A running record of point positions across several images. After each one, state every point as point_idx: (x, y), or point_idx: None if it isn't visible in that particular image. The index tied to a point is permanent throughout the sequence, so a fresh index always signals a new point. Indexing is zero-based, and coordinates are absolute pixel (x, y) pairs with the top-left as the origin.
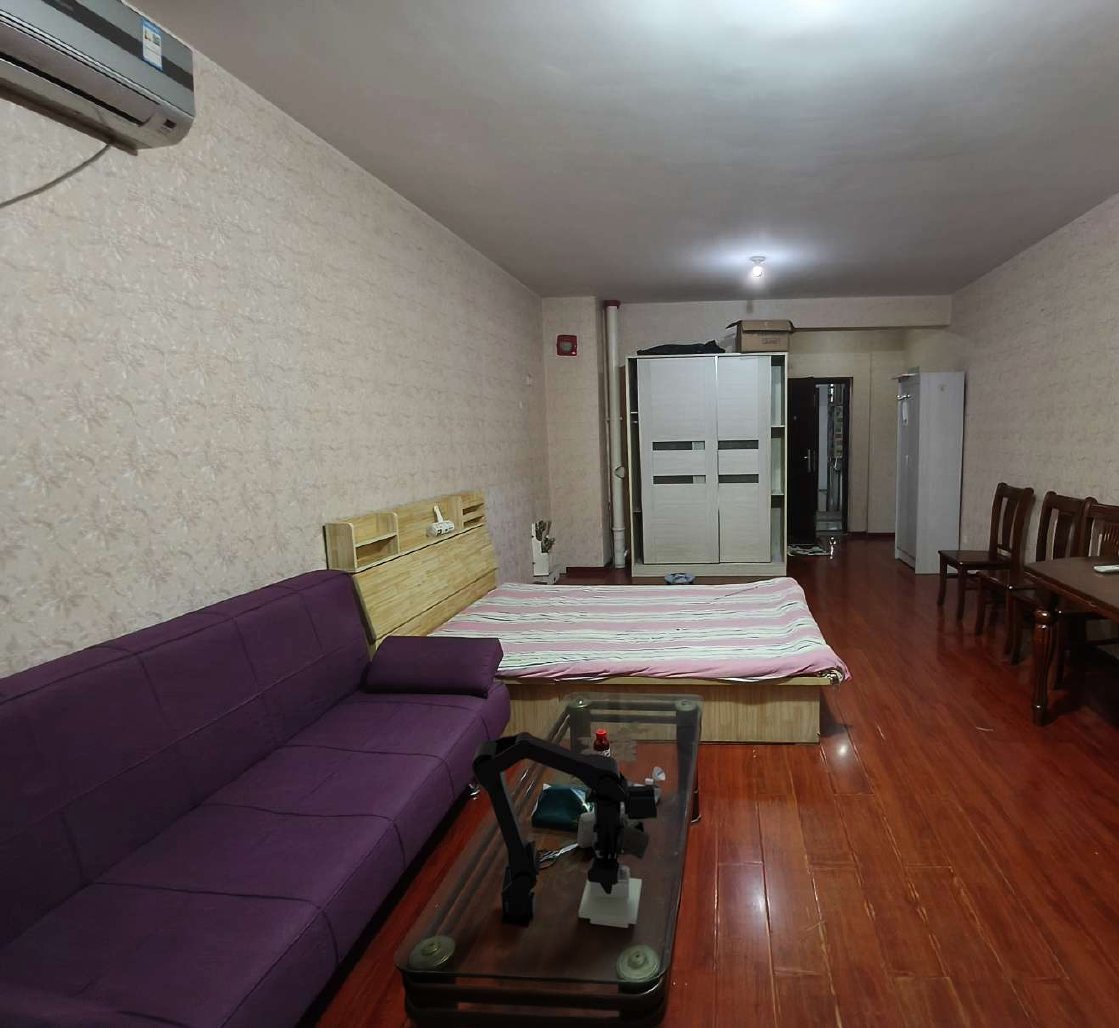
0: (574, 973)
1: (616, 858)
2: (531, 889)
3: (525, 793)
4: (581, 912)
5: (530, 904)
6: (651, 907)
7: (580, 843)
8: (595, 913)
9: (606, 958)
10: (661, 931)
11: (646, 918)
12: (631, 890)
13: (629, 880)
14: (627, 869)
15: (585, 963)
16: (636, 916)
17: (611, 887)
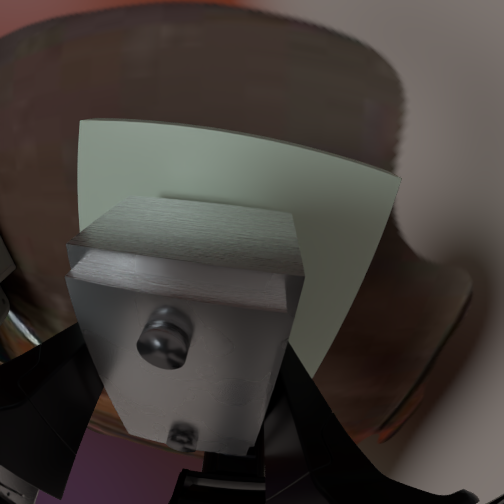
0: (433, 340)
1: (50, 385)
2: (230, 467)
3: None
4: None
5: (256, 449)
6: (194, 72)
7: (4, 316)
8: (325, 348)
9: (426, 272)
10: (343, 50)
11: (263, 98)
12: (164, 176)
13: (151, 216)
14: (88, 266)
15: (420, 322)
16: (365, 164)
17: (311, 382)
